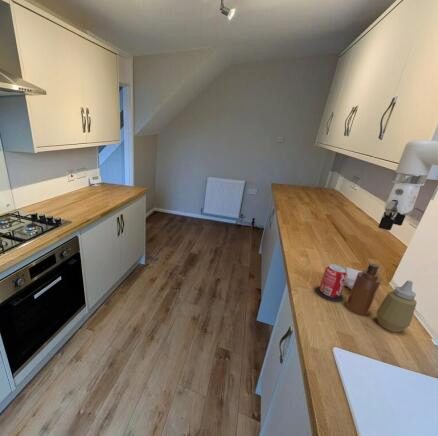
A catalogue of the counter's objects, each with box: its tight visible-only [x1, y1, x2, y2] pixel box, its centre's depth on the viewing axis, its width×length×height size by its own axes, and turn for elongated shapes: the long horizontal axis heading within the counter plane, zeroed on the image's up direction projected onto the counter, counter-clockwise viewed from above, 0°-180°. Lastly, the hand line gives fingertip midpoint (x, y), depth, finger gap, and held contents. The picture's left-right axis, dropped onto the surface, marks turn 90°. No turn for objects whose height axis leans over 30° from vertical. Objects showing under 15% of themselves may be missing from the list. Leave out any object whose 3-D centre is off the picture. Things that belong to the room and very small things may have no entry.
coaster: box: [315, 286, 344, 303], centre depth 96 cm, size 9×9×1 cm
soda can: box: [319, 263, 347, 297], centre depth 94 cm, size 7×7×12 cm
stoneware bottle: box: [345, 262, 383, 316], centre depth 85 cm, size 6×6×19 cm
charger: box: [344, 267, 363, 291], centre depth 100 cm, size 5×9×15 cm
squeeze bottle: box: [376, 279, 417, 333], centre depth 78 cm, size 8×8×18 cm
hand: (389, 226), depth 85 cm, fingers open, 9 cm apart
